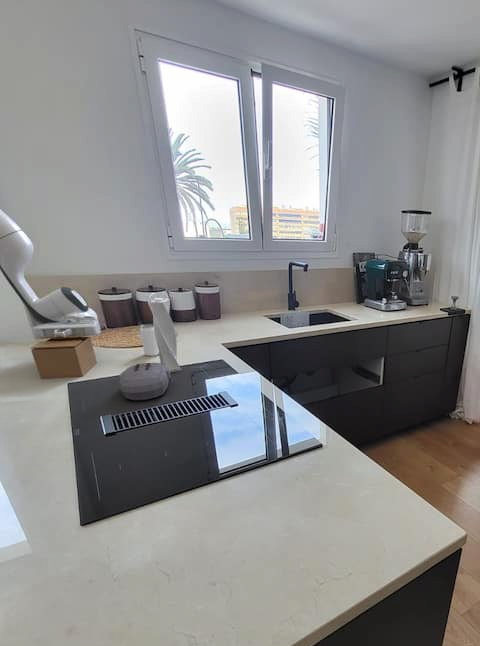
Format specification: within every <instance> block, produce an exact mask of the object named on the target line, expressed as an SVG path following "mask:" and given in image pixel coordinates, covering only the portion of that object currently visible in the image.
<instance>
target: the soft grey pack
mask: <svg viewBox="0 0 480 646" xmlns="http://www.w3.org/2000/svg"><path fill="white" fill-rule="evenodd" d="M171 377H172V376H171V373H170V372H169V370H168V368H167V367H165V366H164V365H162V364H161V363H160V362H141V363H135V364H132V365H130V366H128V367H127V368H126V369H124V370H123V371H122V372H121V373H120V374H119V376H118V379H119V388H120V391H121V393H122V395H123V397H124V398H125V399H126V400H131V401H145V400H146V401H147V400H150V399H155V398H157V397H160V396H162V395H164V394H165V392H166V390H167V389H168V387H169V383H170V382H169V380H170V379H171Z"/></svg>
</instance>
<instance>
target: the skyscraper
mask: <svg viewBox="0 0 480 646" xmlns="http://www.w3.org/2000/svg"><path fill="white" fill-rule="evenodd" d="M153 295H154V298H153V300H151V301H150V299H151V297H152V296H153ZM147 304H148V307H149V309H150V312H151V314H152V324H153V326H154V334H155V339H156V343H157V347H158V350H159V352H158V353H159V355H158V356H159V361H160V362H159V363H161V364H162V365H164V366H165V367H167V368H168V370H169V372H170V374H173V373H178V372H182V371H183V369H182V368H181V367H180V366H181V365H179V363H178V361H177V357H178V355H177V354H178V346H177V345H178V344H177V334H176V329H175V325H174V323H173V320H172V317H171V315H170V308H171V307H170V306H171V299H170V297H168V298H165V299H164V298H163V297H157V293H156V292H152V293H151V294H150V295H149V296H148V298H147Z"/></svg>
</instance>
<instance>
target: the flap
mask: <svg viewBox="0 0 480 646" xmlns="http://www.w3.org/2000/svg"><path fill="white" fill-rule="evenodd" d="M71 337H91V335H88V336H86V335H80V336H66V337H56V338H71ZM50 338H55V336H53V337H39V340H41V339H42V340H43V339H50Z"/></svg>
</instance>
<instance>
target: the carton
mask: <svg viewBox="0 0 480 646" xmlns="http://www.w3.org/2000/svg"><path fill="white" fill-rule="evenodd" d="M30 349H31V350H30V351H31V354H32V357H33V360H34V363H35V366H36V369H37V372H38V375H39V378H40V380H44V379H61V378H63V379H64V378H78V377H79V378H80V377H84V376H85V375H87V373H88V372H89V371H91V369H92V368H93V367H94V366H96V364H97V363H98V362H97V361H98V360H97V358H96V354H95V350H94V346H93V342H92V339H91V336H85V337H71V338H48V339H47V340H45V341H39V342H38V343H36V344H35V345H34V344H33V346H30Z"/></svg>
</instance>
